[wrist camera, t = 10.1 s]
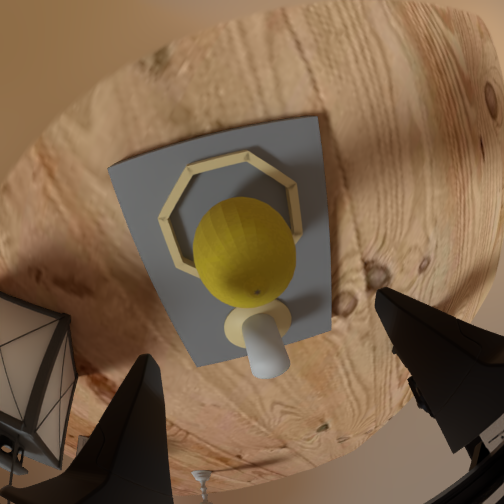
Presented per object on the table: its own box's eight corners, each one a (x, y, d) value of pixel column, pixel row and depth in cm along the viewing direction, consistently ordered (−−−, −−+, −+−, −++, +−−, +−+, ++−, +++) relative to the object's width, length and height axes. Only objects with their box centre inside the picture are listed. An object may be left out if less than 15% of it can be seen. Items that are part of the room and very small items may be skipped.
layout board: (308, 115, 17) (357, 121, 12) (325, 320, 27) (351, 366, 22) (113, 163, 16) (77, 190, 11) (196, 356, 26) (200, 409, 21)
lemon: (244, 165, 17) (278, 206, 10) (287, 227, 20) (335, 294, 13) (176, 216, 18) (165, 287, 11) (225, 270, 20) (242, 352, 13)
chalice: (220, 472, 51) (232, 531, 35) (199, 476, 51) (209, 532, 36) (203, 467, 47) (214, 532, 32) (181, 471, 48) (189, 533, 32)
